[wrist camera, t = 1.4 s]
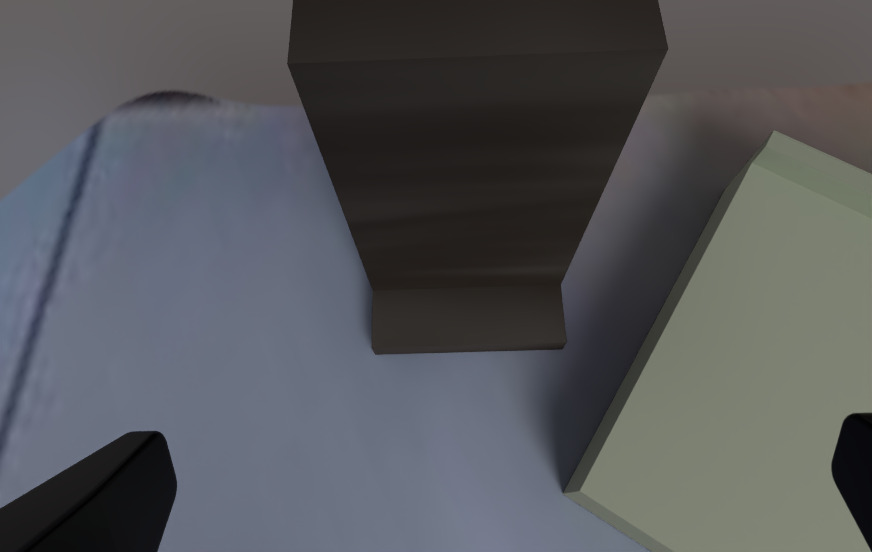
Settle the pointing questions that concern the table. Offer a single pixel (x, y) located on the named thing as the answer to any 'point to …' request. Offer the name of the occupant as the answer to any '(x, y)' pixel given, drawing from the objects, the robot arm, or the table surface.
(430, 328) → the dark photo frame
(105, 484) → the robot arm
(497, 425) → the table surface
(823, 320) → the picture ledge
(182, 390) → the table surface
